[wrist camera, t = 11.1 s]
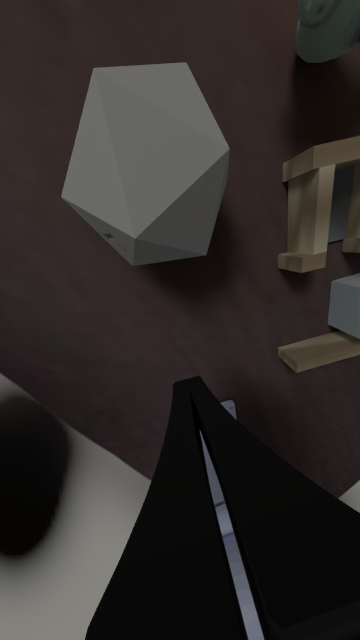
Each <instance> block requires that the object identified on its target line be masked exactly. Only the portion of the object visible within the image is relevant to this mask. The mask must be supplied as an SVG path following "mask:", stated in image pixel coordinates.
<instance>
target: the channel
mask: <svg viewBox="0 0 360 640" xmlns="http://www.w3.org/2000/svg"><path fill="white" fill-rule="evenodd" d="M287 181H289V184H288V238H287V253H283V254H279V255H278V268H280V269H285V270H290V271H295V272H299V273H303V272H307V271H311V270H315V269H319V268H323V267H325V262H326V252H327V243H329V242H333V241H337V240H341V239H343V246H342V252H356V253H360V136H356V137H352V138H347V139H343V140H338V141H334V142H329V143H325V144H320V145H316V146H313V147H311V148H309V149H308V150H306V151H304V152H303V153H301V154H299V155H297V156H296V157H294V158H292V159H290V160H289V161H287V162H285V163H283V182H287ZM356 355H360V339H359V338H356V337H354V336H352V335H350V334H348V333H346V332H344V331H341V330H339V331H336V332H332V333H329V334H325V335H321V336H318V337H314V338H311V339H307V340H304V341H300V342H296V343H293V344H289V345H286V346H282V347H279V348H278V357H279V358H281V359H282V360H283V361H284V362H285V363H286V364H287V365H288V366H290V367H291V368H292V369H293V370H294V371H295V372H296V373H297V372H301V371H304V370H308V369H311V368H315V367H318V366H322V365H325V364H329V363H332V362H335V361H339V360H342V359H346V358H349V357H353V356H356Z"/></svg>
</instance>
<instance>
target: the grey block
mask: <svg viewBox="0 0 360 640" xmlns="http://www.w3.org/2000/svg"><path fill="white" fill-rule="evenodd" d="M328 324H329V325H331V326H333V327H335V328H337V329H339V330H341V331H344V332H346V333H348V334H350V335H352V336H354V337H356V338H359V339H360V273H358V274H355V275H351V276H348V277H344V278H341V279H338V280H334V281H332V284H331V295H330V305H329V316H328Z"/></svg>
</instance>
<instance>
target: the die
mask: <svg viewBox="0 0 360 640" xmlns="http://www.w3.org/2000/svg"><path fill="white" fill-rule="evenodd" d="M229 150H230V149H229V147H228V145H227V143H226V141H225V139H224V137H223V135H222V133H221V131H220V129H219V127H218V125H217V123H216V121H215V119H214V117H213V115H212V113H211V111H210V109H209V107H208V105H207V103H206V101H205V99H204V97H203V95H202V93H201V91H200V89H199V87H198V85H197V83H196V81H195V79H194V77H193V75H192V73H191V71H190V69H189V67H188V65H187V63H170V64H154V65H138V66H121V67H105V68H94V69H93V73H92V77H91V81H90V85H89V89H88V93H87V97H86V101H85V104H84V108H83V112H82V116H81V120H80V124H79V128H78V132H77V136H76V140H75V144H74V148H73V152H72V156H71V160H70V164H69V168H68V172H67V176H66V180H65V184H64V188H63V192H62V196H61V197H62V198H63V199H64V200H65V201H66V202H67V203H68V204H69V205H70V206H71V207H72V208H73V209H74V210H75V211H76V212H77V213H78V214H79V215H80V216H81V217H82V218H84V219H85V220H86V221H87V222H88V223H89V224H90V225H91V226H92V227H93V228H94V229H95V230H96V231H97V232H98V233H99V234H100V235H101V236H102V237H103V238H104V239H105V240H106V241H107V242H108V243H109V244H110V245H111V246H112V247H113V248H114V249H115V250H116V251H117V252H118V253H120V254H121V255H122V256H123V257H124V258H125V259H126V260H127V261H128V262H129V263H130V264H131V265H132V266H137V265H144V264H151V263H157V262H164V261H171V260H177V259H184V258H191V257H197V256H204V255H207V251H208V247H209V244H210V240H211V237H212V233H213V229H214V226H215V222H216V218H217V215H218V211H219V208H220V204H221V200H222V197H223V193H224V190H225V186H226V182H227V179H228V165H229Z"/></svg>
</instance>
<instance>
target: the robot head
mask: <svg viewBox="0 0 360 640" xmlns="http://www.w3.org/2000/svg"><path fill="white" fill-rule="evenodd" d="M298 15H299V21H298V26H297V31H296V35H295V40H296V49H297V55H298V56H300V57H301V58H302V59H303V60H304V61H305V62H306V63H321V62H325V61H328V60H331V59H335V58H337V57H339V56H341V55H343V54H345V53H347V52H349V51H351V50H353V49H355V48H357V47H358V46H360V0H298Z"/></svg>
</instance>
